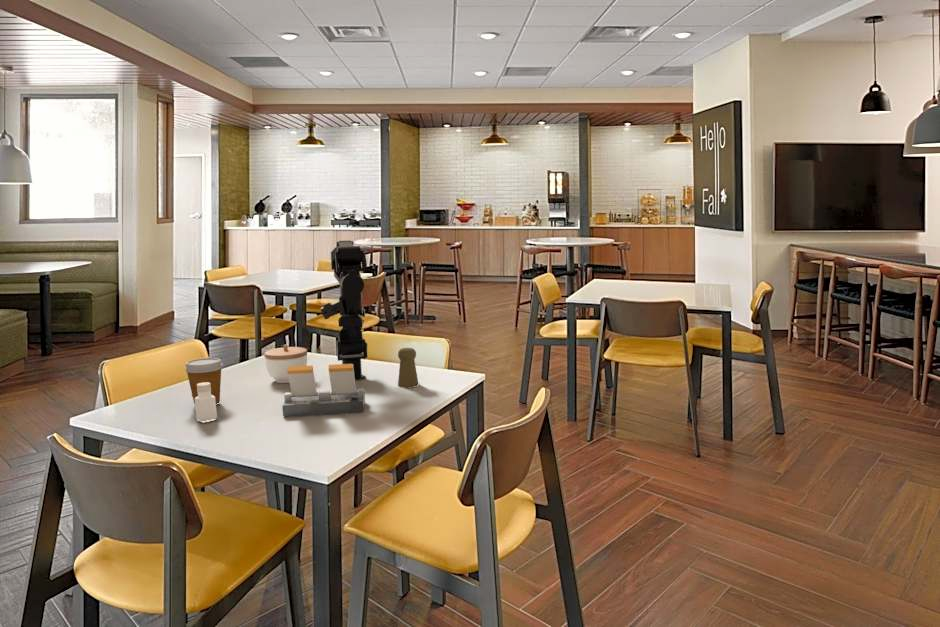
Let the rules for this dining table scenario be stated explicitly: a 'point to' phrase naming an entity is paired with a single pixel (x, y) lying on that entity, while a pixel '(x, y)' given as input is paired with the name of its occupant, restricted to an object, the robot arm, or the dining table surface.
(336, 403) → the light switch frame
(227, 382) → the dining table surface
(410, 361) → the pepper shaker
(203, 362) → the disposable coffee cup
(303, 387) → the white orange-topped slab
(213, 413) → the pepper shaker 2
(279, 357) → the lidded bowl
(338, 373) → the panel
